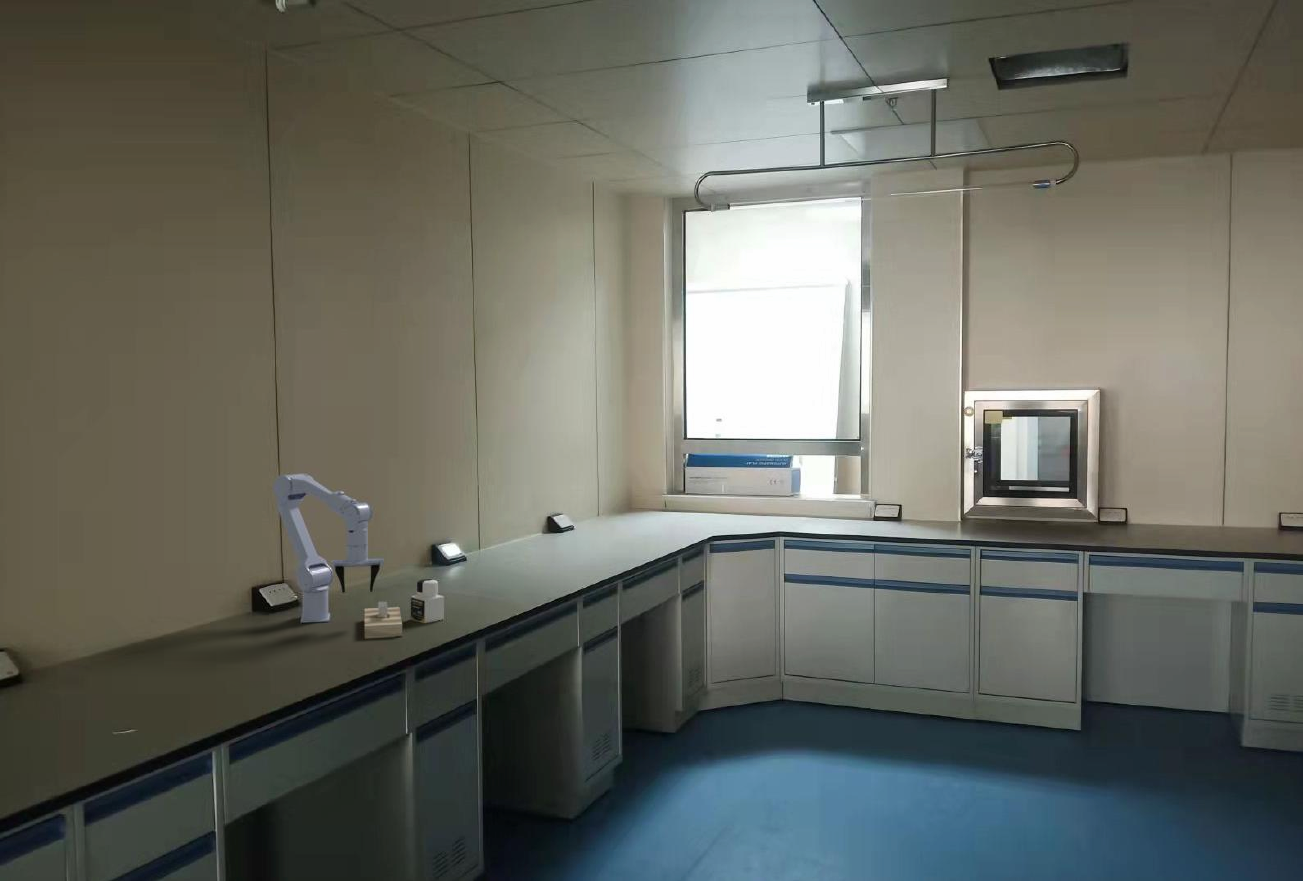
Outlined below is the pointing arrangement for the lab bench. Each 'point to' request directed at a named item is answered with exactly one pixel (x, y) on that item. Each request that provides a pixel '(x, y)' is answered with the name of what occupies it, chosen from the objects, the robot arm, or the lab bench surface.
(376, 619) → the beige slab
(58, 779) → the lab bench surface
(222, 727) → the lab bench surface
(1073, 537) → the lab bench surface
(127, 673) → the lab bench surface
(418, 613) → the medicine bottle
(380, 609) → the grey rectangular prism
